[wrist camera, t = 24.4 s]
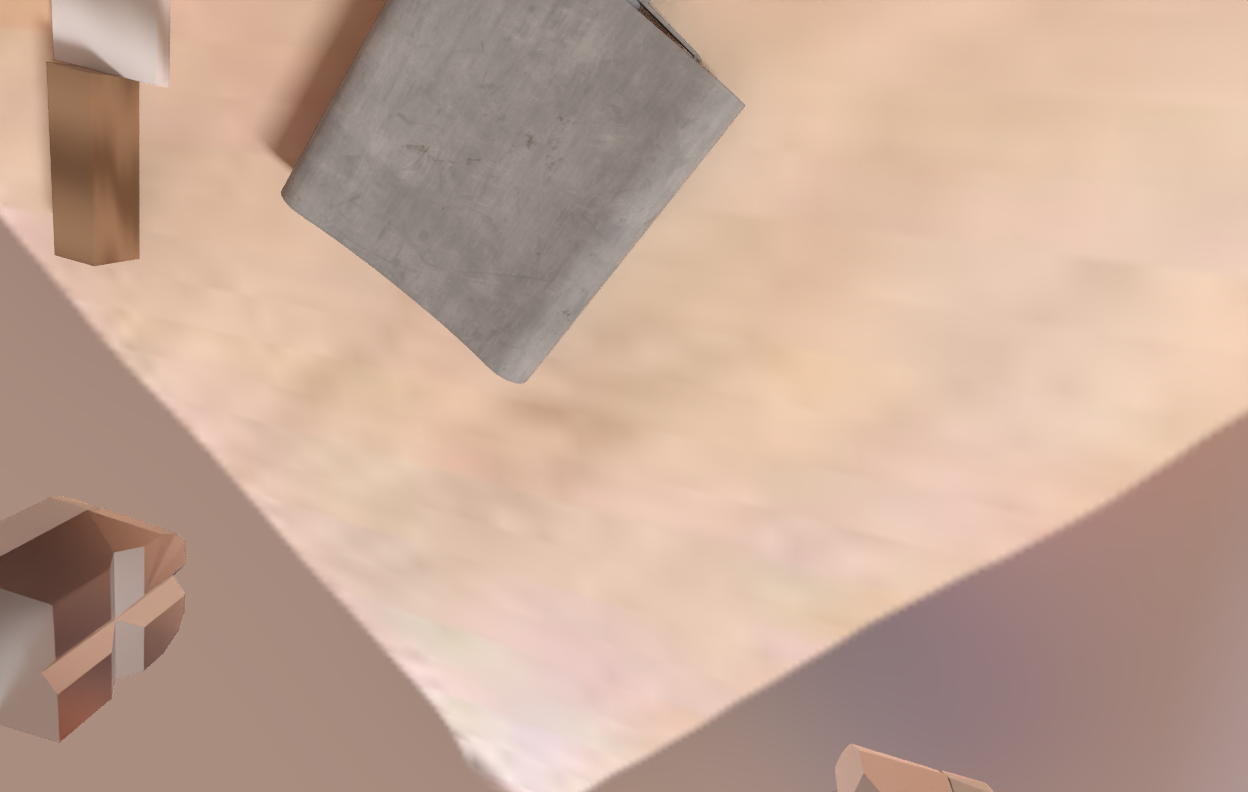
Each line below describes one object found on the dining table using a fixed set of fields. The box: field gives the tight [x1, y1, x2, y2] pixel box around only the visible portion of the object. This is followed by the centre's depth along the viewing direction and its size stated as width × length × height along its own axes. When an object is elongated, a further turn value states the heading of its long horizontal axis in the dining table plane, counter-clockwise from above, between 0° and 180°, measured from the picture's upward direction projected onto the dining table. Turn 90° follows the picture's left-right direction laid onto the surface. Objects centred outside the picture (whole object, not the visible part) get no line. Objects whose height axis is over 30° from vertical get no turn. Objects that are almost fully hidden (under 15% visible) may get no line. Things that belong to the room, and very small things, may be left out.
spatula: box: [47, 0, 170, 266], centre depth 38 cm, size 18×6×3 cm, turn 166°
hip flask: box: [281, 0, 745, 383], centre depth 35 cm, size 16×4×20 cm
